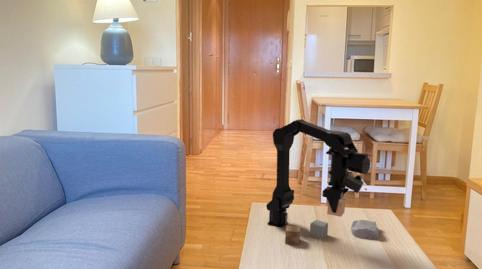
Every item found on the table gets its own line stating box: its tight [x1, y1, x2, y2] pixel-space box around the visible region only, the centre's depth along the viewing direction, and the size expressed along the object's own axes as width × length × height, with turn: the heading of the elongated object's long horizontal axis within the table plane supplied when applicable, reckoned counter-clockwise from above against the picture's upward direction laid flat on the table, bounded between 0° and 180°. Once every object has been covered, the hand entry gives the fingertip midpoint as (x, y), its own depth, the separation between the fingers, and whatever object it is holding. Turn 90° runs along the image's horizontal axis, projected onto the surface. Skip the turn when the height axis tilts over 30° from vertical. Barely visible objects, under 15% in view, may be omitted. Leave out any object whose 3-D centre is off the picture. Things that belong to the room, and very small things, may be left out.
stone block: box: [350, 219, 379, 240], centre depth 160 cm, size 12×5×10 cm
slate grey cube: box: [309, 219, 329, 240], centre depth 156 cm, size 5×5×5 cm
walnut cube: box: [284, 225, 301, 246], centre depth 150 cm, size 5×5×5 cm
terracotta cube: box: [326, 198, 346, 217], centre depth 146 cm, size 5×5×5 cm
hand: (335, 210), depth 147 cm, fingers closed on terracotta cube, 5 cm apart
